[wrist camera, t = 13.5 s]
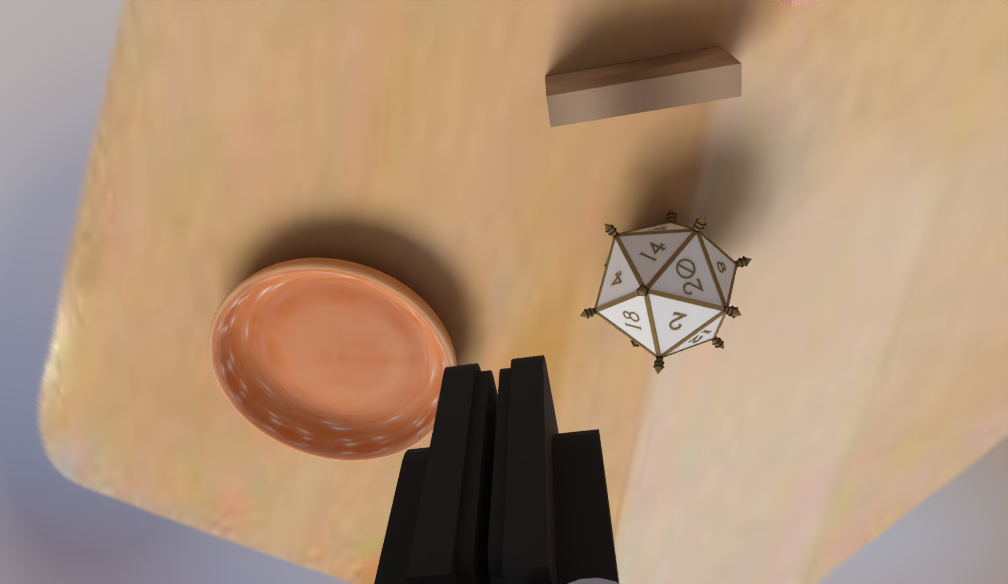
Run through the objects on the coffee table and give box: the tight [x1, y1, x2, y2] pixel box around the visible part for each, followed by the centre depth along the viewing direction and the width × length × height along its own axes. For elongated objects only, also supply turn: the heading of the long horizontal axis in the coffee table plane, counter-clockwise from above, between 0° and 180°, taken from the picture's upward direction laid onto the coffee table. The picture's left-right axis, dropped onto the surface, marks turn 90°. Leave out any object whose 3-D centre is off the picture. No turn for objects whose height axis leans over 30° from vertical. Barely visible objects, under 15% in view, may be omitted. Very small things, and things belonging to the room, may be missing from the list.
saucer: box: [209, 258, 457, 461], centre depth 43 cm, size 16×16×3 cm
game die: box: [580, 209, 751, 374], centre depth 36 cm, size 9×8×10 cm
